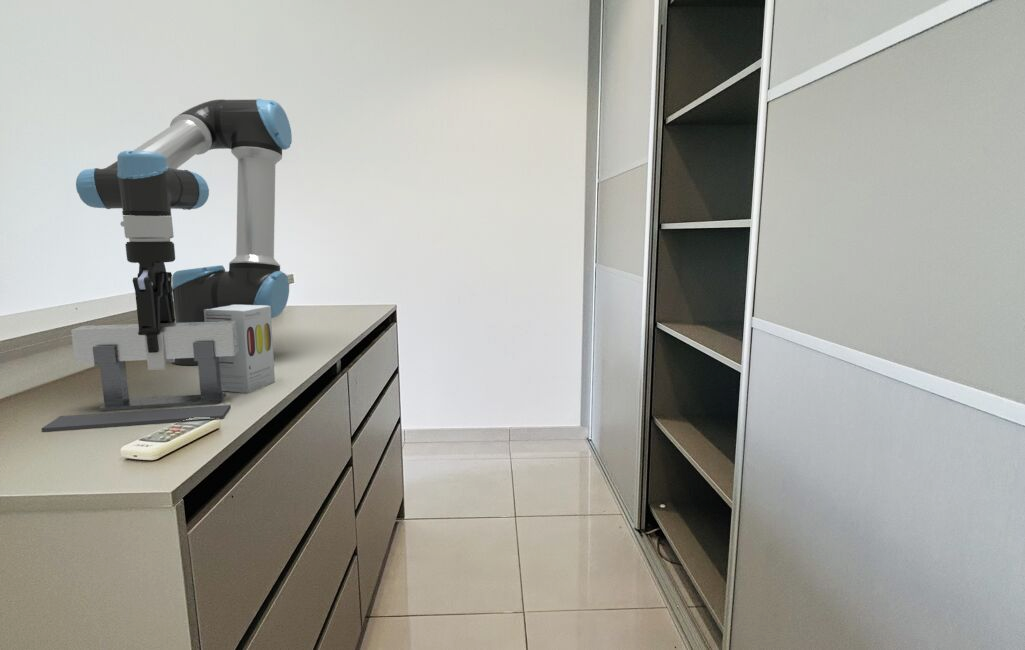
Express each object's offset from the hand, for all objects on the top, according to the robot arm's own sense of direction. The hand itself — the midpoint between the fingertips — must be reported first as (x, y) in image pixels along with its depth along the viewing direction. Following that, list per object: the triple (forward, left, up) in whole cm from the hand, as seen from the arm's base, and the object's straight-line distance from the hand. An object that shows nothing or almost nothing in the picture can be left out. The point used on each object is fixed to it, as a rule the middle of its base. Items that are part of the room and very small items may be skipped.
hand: (161, 365), depth 109 cm
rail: (0, 0, +2) cm, 2 cm away
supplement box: (-10, +12, -8) cm, 17 cm away
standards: (0, 0, -7) cm, 7 cm away
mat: (+9, -1, -7) cm, 12 cm away
